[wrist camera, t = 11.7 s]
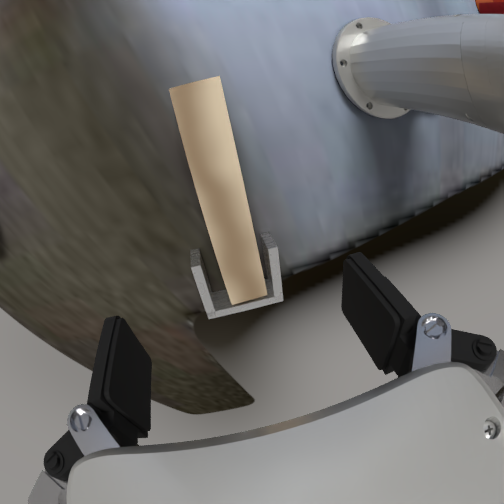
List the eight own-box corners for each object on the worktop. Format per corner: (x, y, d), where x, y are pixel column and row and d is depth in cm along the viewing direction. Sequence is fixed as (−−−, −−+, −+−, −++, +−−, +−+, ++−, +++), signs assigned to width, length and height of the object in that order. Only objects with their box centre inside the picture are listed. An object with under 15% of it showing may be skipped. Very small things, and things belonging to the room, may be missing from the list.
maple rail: (214, 81, 22) (219, 76, 18) (257, 269, 34) (267, 294, 30) (173, 92, 22) (168, 88, 18) (225, 278, 34) (231, 305, 29)
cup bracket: (268, 231, 31) (277, 246, 28) (275, 283, 35) (283, 300, 32) (190, 250, 30) (191, 267, 27) (206, 300, 34) (208, 319, 31)
